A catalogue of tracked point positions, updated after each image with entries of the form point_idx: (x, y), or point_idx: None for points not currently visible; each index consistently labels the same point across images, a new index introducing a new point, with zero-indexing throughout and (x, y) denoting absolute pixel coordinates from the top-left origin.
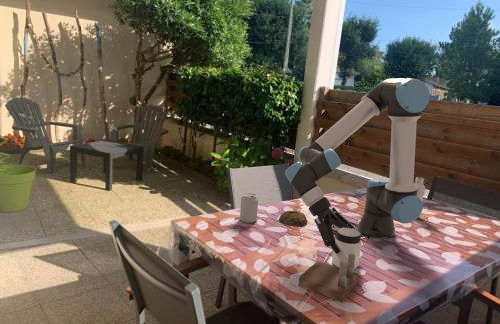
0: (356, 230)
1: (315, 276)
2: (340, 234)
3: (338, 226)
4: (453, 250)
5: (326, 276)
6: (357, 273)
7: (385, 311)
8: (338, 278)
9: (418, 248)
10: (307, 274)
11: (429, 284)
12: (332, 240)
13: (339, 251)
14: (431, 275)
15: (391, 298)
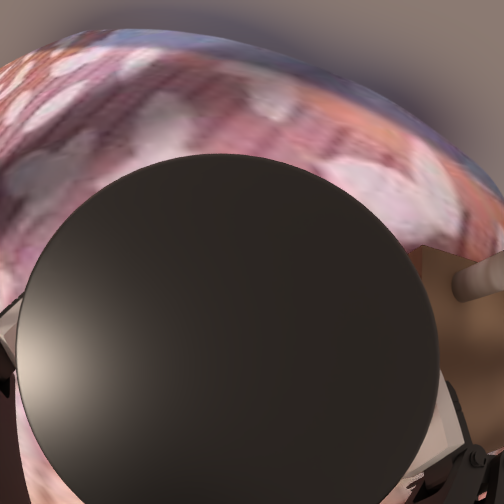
0: (60, 242)
1: (501, 407)
2: (393, 486)
3: (18, 477)
4: (46, 69)
5: (494, 374)
6: (423, 254)
7: (475, 177)
8: (491, 325)
9: (29, 114)
10: (495, 436)
11: (254, 62)
12: (480, 471)
13: (448, 383)
14: (189, 61)
15: (417, 152)
